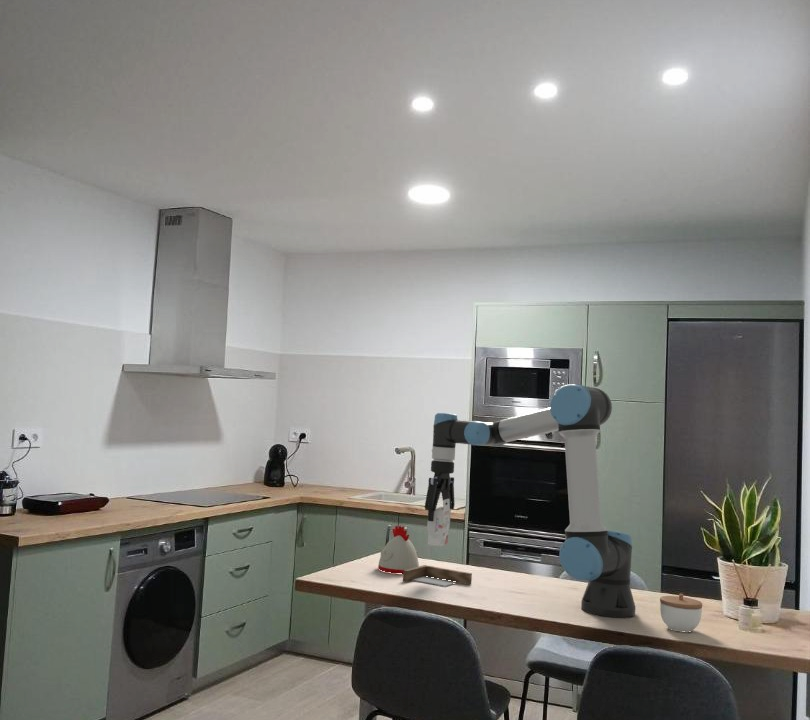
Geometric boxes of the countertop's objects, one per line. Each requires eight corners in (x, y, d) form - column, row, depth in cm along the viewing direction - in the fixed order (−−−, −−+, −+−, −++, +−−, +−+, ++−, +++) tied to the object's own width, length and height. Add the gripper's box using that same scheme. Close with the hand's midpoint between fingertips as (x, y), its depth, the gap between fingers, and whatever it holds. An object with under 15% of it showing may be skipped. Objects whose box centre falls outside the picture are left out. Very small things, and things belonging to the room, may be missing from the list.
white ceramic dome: (401, 565, 270) (404, 523, 271) (426, 573, 259) (429, 528, 260) (370, 568, 261) (373, 524, 262) (395, 576, 250) (398, 530, 251)
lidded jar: (707, 631, 204) (708, 595, 205) (692, 637, 196) (693, 600, 197) (668, 622, 211) (669, 588, 212) (652, 628, 203) (653, 592, 204)
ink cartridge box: (433, 541, 251) (436, 496, 252) (447, 543, 249) (450, 498, 250) (426, 545, 242) (429, 498, 244) (441, 546, 241) (444, 500, 242)
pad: (456, 583, 245) (456, 582, 245) (445, 587, 238) (445, 585, 238) (424, 577, 251) (424, 576, 251) (412, 580, 244) (412, 579, 244)
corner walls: (471, 584, 245) (471, 573, 245) (451, 590, 233) (452, 579, 233) (423, 575, 254) (424, 565, 254) (402, 581, 242) (403, 570, 242)
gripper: (447, 459, 259) (443, 526, 258) (416, 459, 241) (411, 531, 239) (467, 461, 256) (463, 528, 254) (437, 461, 237) (432, 534, 235)
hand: (438, 530), depth 246 cm, fingers closed on ink cartridge box, 9 cm apart
